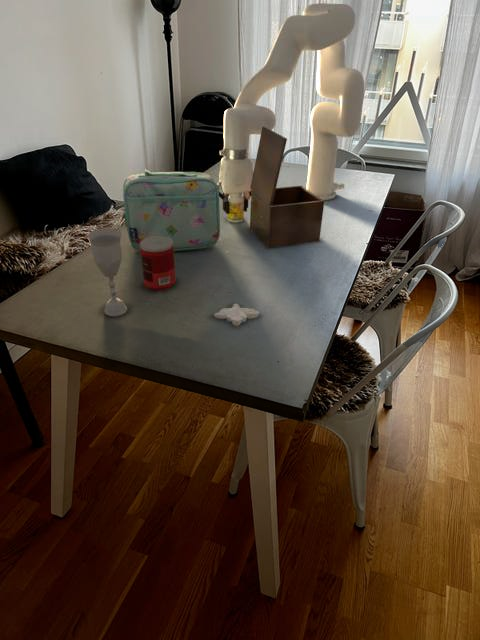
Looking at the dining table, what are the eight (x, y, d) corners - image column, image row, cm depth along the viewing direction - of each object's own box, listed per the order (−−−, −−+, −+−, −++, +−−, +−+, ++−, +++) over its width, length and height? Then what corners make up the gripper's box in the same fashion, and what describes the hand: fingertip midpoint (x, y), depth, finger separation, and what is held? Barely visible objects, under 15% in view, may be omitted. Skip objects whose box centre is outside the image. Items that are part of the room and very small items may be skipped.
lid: (265, 126, 130) (262, 126, 130) (287, 138, 118) (284, 138, 118) (252, 188, 138) (250, 188, 138) (272, 205, 127) (269, 205, 127)
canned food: (180, 278, 118) (178, 238, 112) (166, 293, 111) (163, 251, 105) (153, 273, 120) (150, 233, 114) (138, 287, 114) (133, 246, 107)
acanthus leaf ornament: (259, 316, 104) (259, 309, 103) (239, 329, 100) (240, 322, 99) (233, 304, 108) (233, 297, 107) (213, 316, 104) (213, 309, 103)
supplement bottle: (246, 218, 152) (247, 190, 147) (237, 224, 149) (238, 194, 143) (232, 215, 155) (233, 186, 149) (223, 220, 151) (223, 191, 146)
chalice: (102, 301, 108) (90, 228, 98) (132, 301, 108) (123, 228, 98) (97, 319, 102) (84, 243, 92) (129, 318, 102) (119, 242, 92)
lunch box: (125, 257, 127) (115, 179, 115) (125, 242, 135) (115, 167, 123) (221, 250, 132) (221, 174, 120) (215, 236, 140) (215, 163, 128)
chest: (297, 223, 150) (301, 185, 144) (319, 241, 139) (324, 201, 132) (249, 229, 145) (251, 190, 139) (268, 248, 134) (270, 207, 127)
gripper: (212, 158, 135) (213, 218, 145) (267, 154, 140) (264, 212, 150) (205, 152, 140) (206, 210, 150) (258, 148, 145) (255, 204, 156)
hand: (235, 210), depth 150 cm, fingers closed on supplement bottle, 5 cm apart
